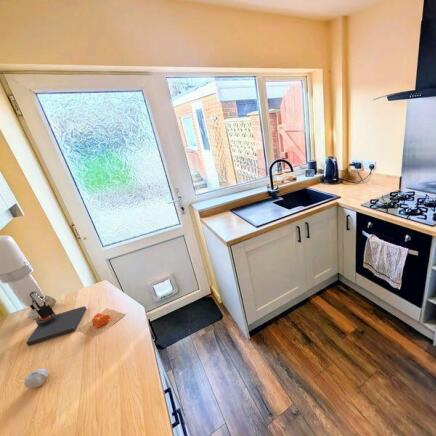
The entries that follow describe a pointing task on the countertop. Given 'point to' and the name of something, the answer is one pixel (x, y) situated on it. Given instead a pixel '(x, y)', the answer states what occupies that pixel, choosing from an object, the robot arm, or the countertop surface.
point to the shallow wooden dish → (101, 322)
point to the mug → (33, 313)
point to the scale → (56, 325)
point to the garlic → (36, 378)
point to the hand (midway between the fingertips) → (43, 311)
